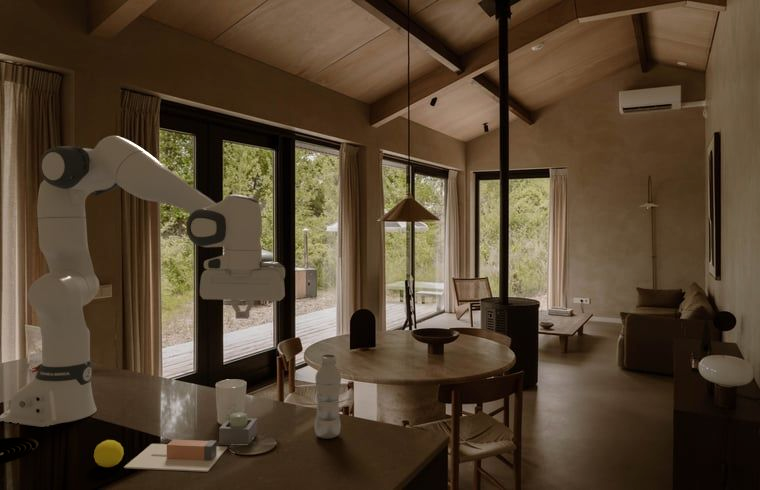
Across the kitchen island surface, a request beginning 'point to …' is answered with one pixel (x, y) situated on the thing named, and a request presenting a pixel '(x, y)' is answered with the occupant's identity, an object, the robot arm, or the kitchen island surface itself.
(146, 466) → the paper
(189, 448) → the block
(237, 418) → the button
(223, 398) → the white cup
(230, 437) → the button housing
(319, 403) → the plastic bottle
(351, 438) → the kitchen island surface
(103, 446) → the lemon
